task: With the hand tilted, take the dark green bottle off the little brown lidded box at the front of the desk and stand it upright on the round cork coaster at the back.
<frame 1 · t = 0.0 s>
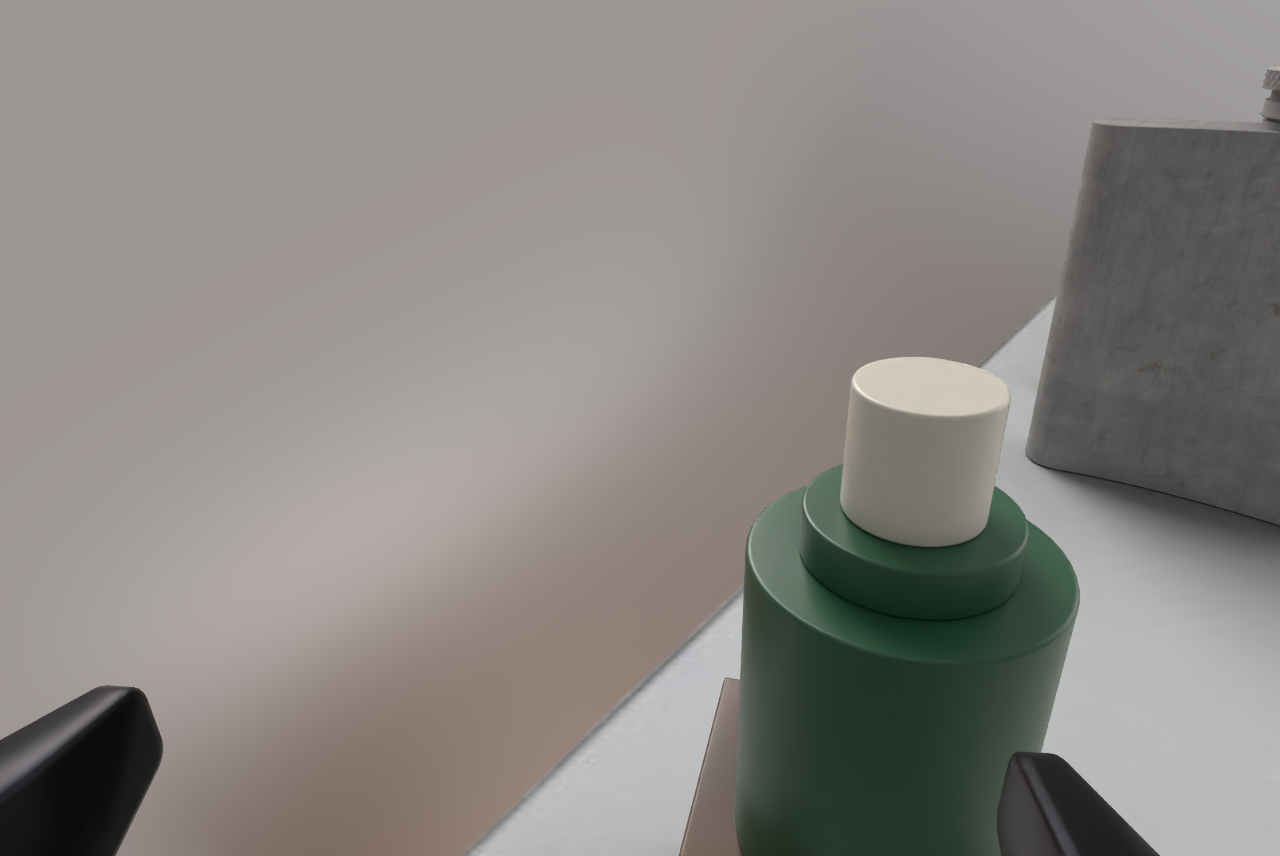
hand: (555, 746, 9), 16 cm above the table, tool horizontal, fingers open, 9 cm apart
bottle: (866, 826, 20), point 6 cm above the table, touching brown lidded box
hip flask: (1189, 490, 44), on the table
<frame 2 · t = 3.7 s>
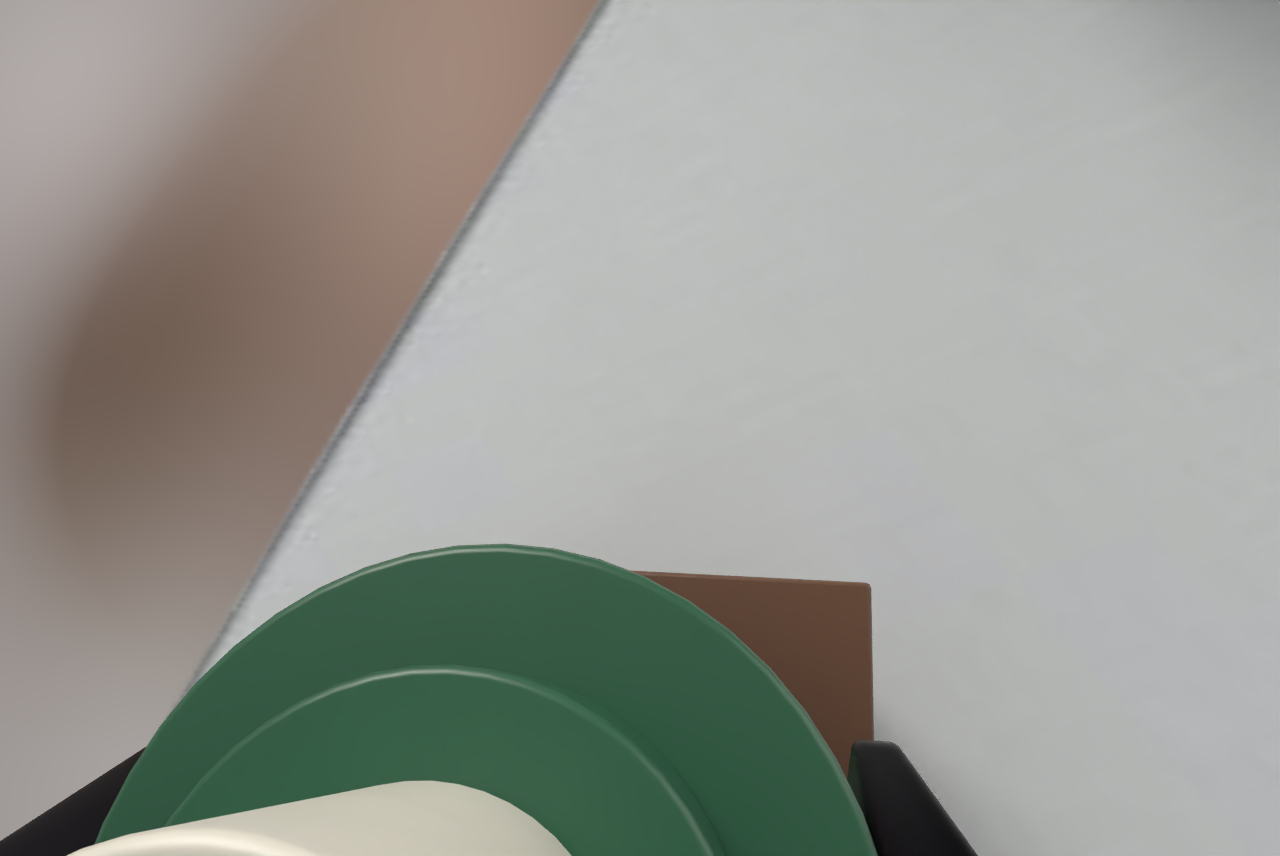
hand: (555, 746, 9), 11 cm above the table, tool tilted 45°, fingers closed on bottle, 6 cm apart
bottle: (605, 833, 13), point 6 cm above the table, touching gripper, brown lidded box
brown lidded box: (643, 797, 19), on the table
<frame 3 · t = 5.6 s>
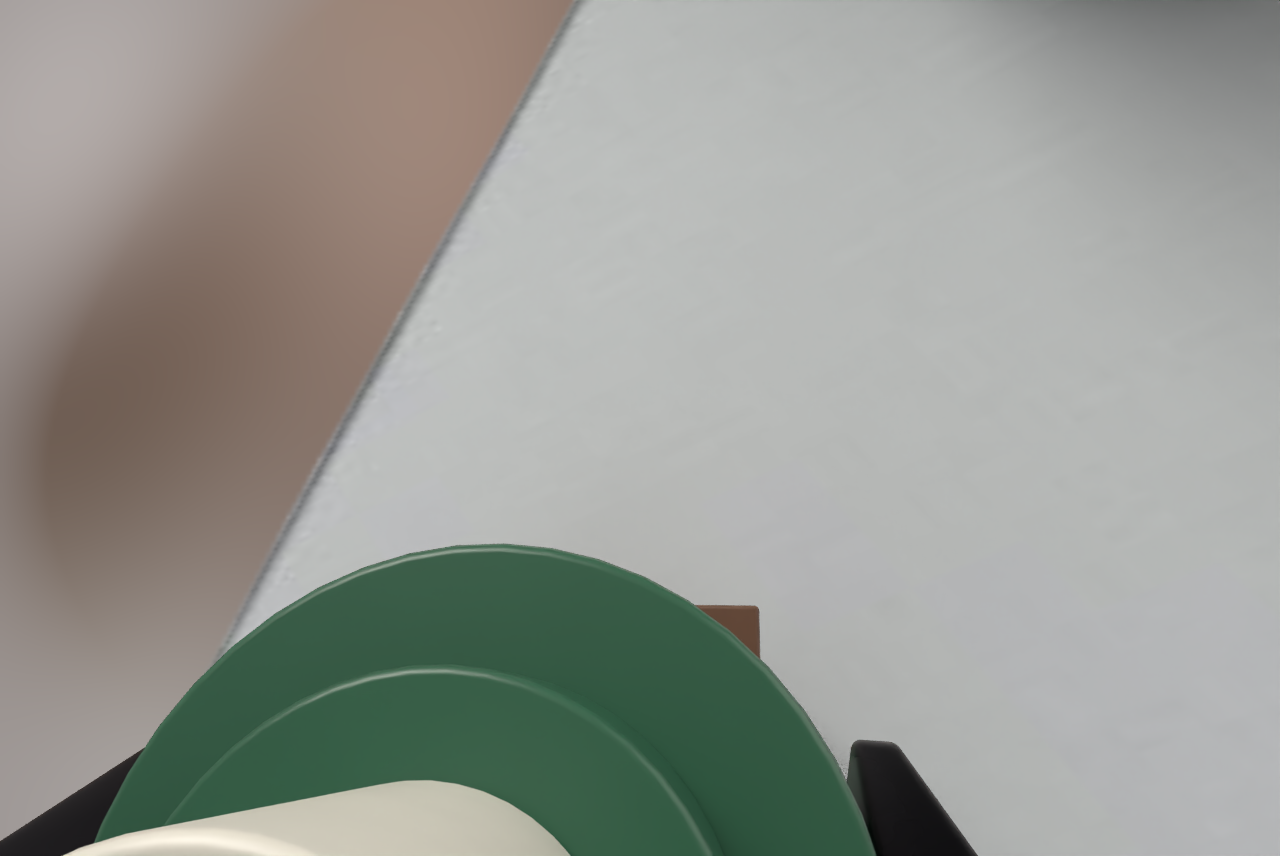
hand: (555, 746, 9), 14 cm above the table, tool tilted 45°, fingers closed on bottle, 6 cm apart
bottle: (605, 833, 13), point 9 cm above the table, touching gripper
brown lidded box: (591, 796, 21), on the table
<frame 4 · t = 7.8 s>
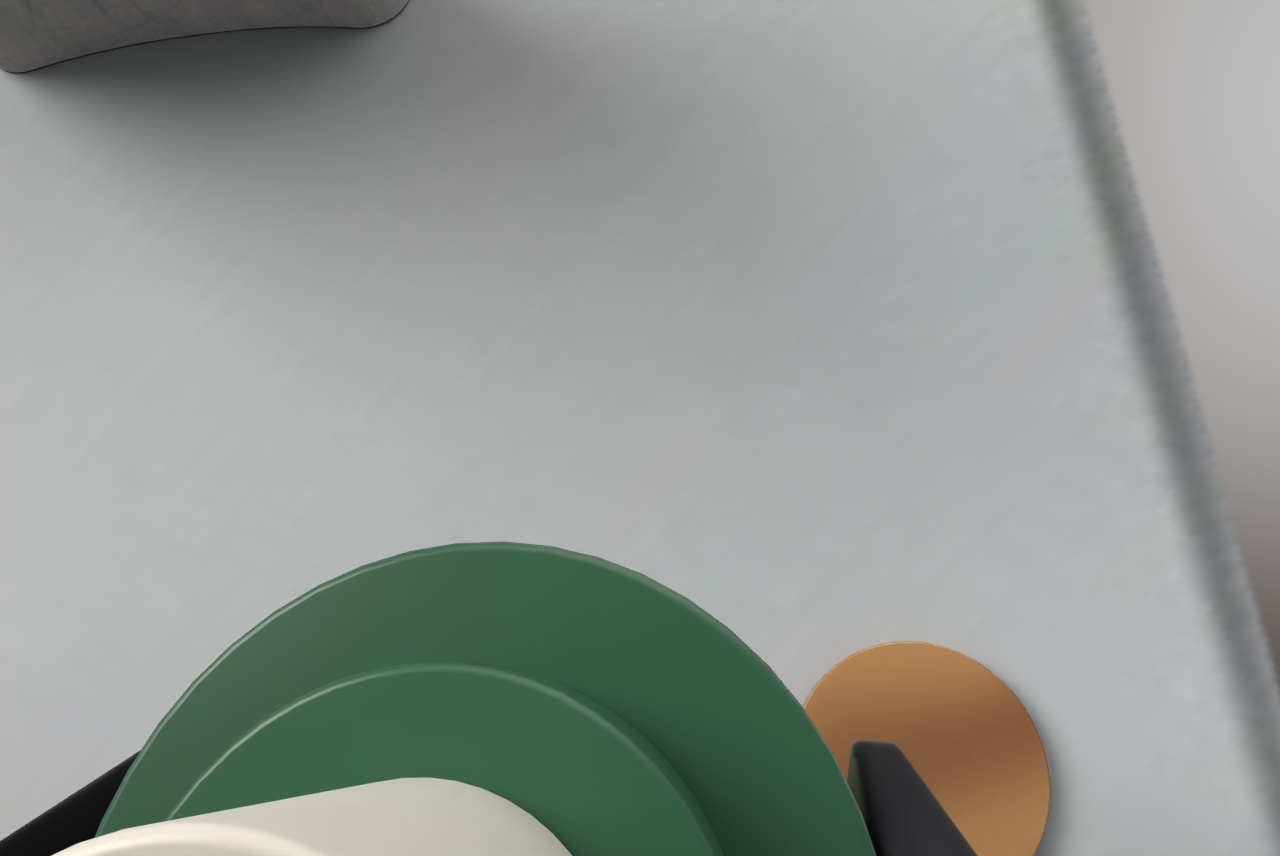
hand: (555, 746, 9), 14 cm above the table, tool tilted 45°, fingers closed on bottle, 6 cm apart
bottle: (604, 832, 13), point 9 cm above the table, touching gripper
hip flask: (201, 9, 31), on the table
coaster: (915, 769, 21), on the table
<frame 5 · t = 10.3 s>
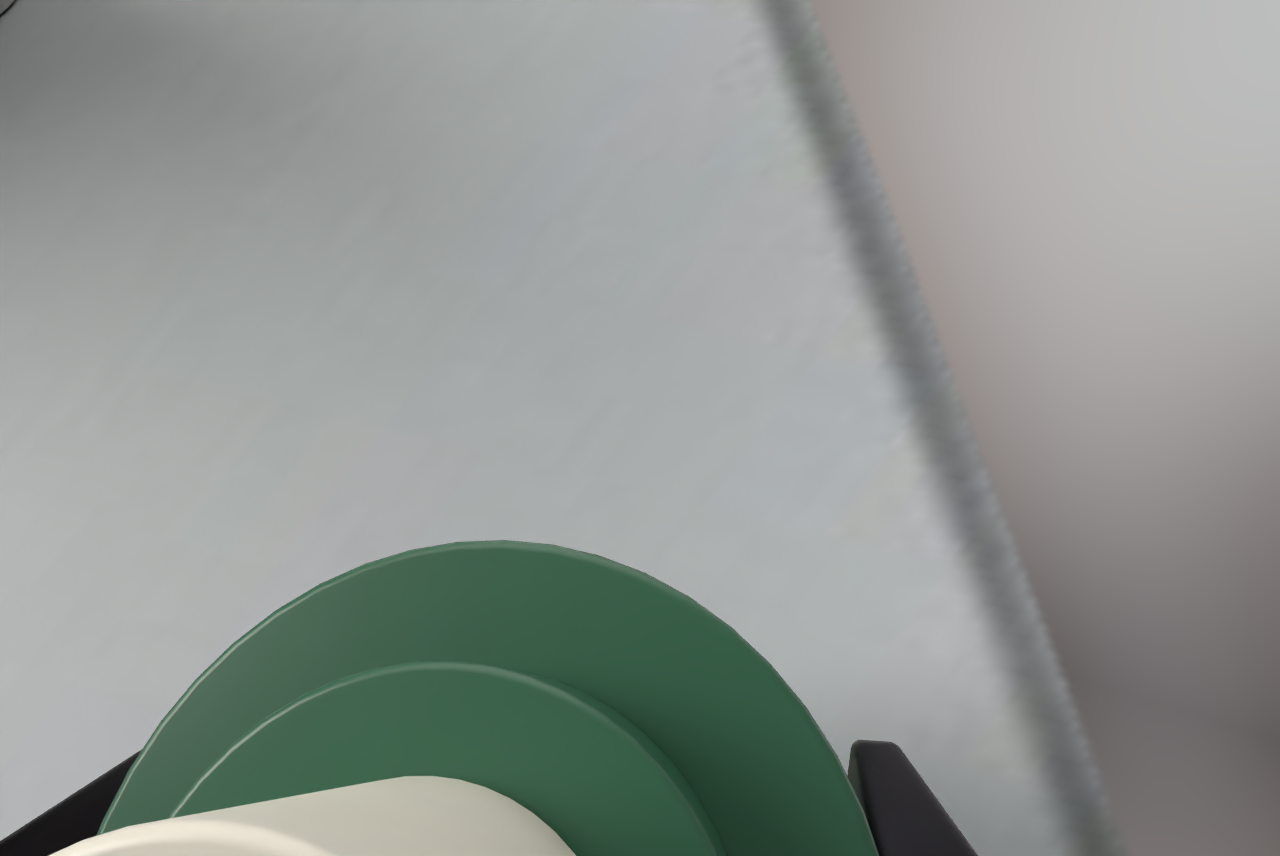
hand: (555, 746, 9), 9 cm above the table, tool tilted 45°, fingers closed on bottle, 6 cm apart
bottle: (605, 831, 13), point 4 cm above the table, touching gripper
when the fingers open (5 cm above the table, at t = 12.0 s): bottle stays where it is, resting on coaster.
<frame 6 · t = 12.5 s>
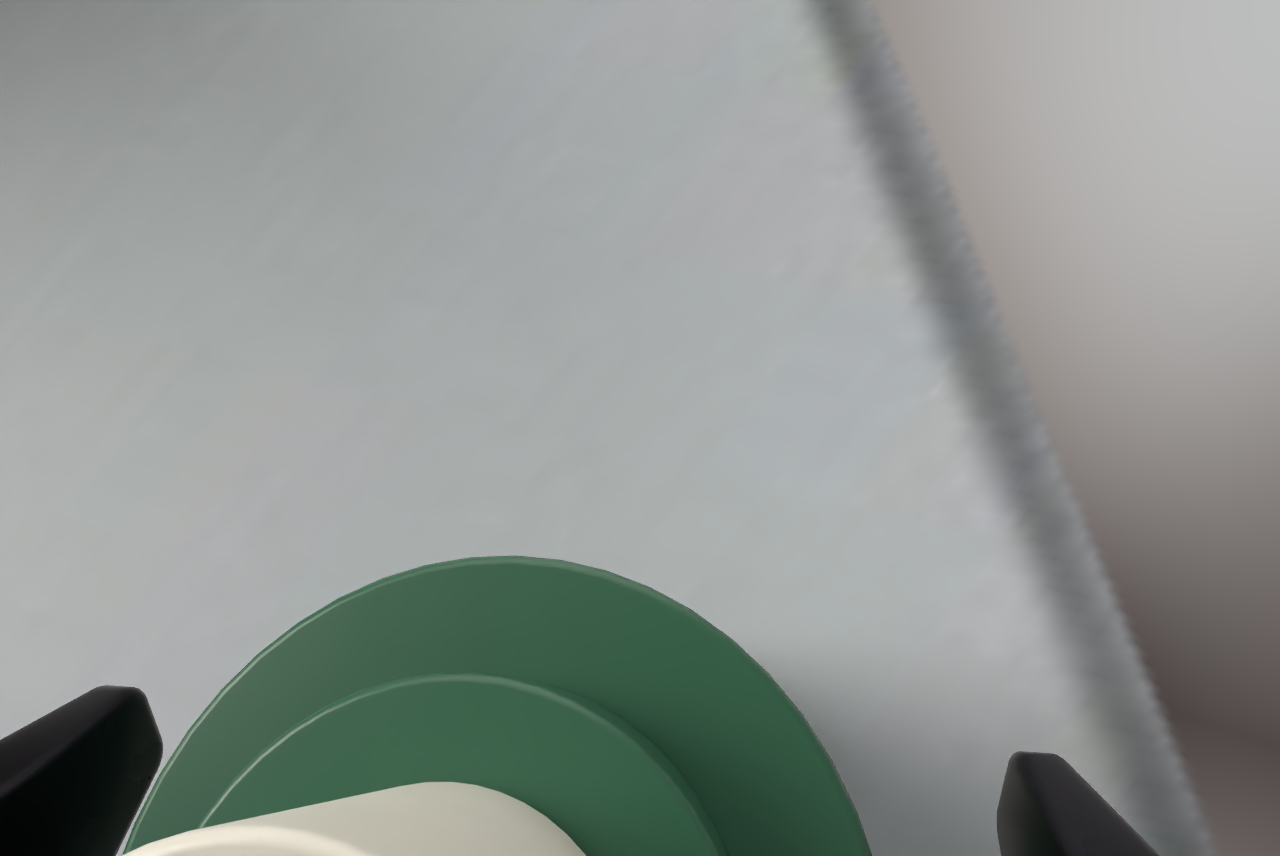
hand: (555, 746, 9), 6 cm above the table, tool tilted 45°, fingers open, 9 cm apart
bottle: (609, 832, 13), resting on coaster
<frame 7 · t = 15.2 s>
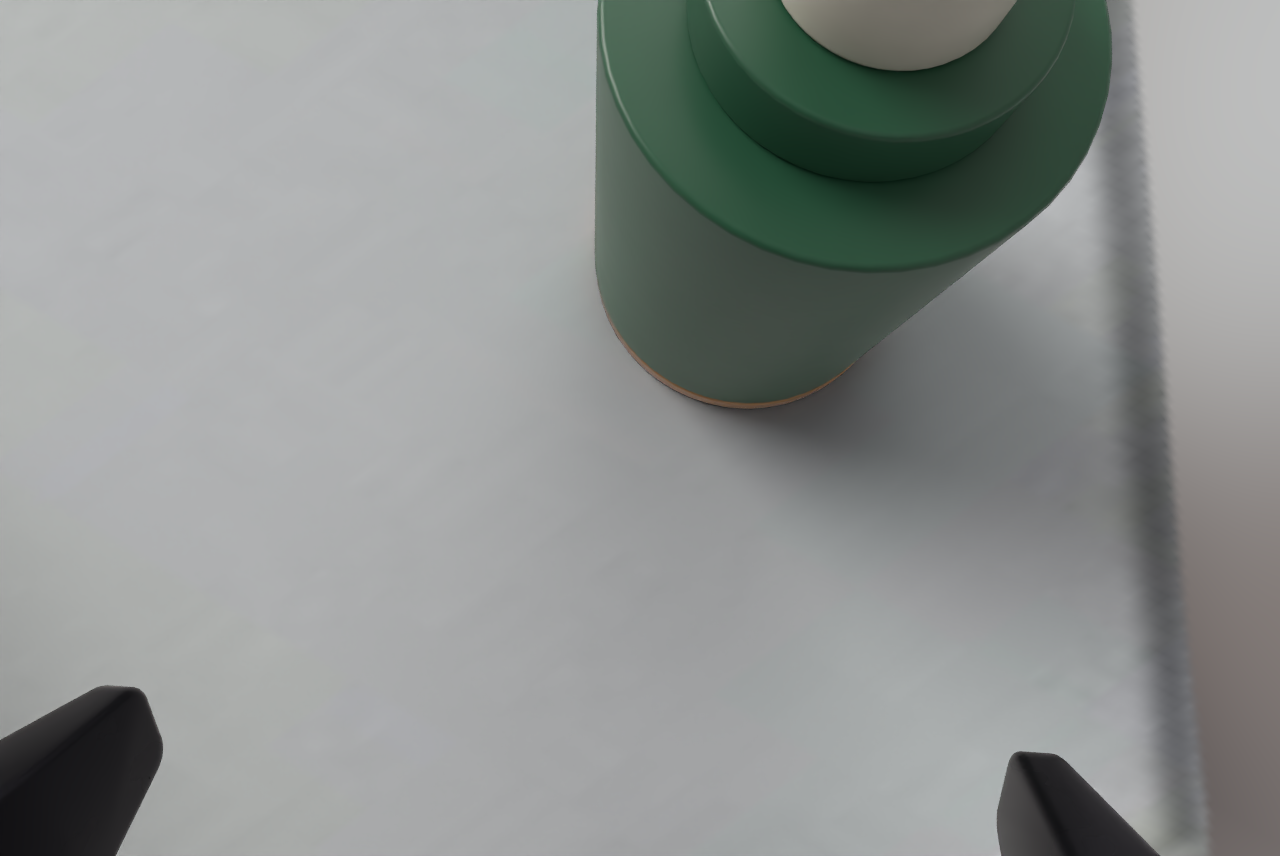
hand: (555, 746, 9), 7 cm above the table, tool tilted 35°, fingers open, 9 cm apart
bottle: (744, 257, 17), resting on coaster
coaster: (742, 265, 18), on the table
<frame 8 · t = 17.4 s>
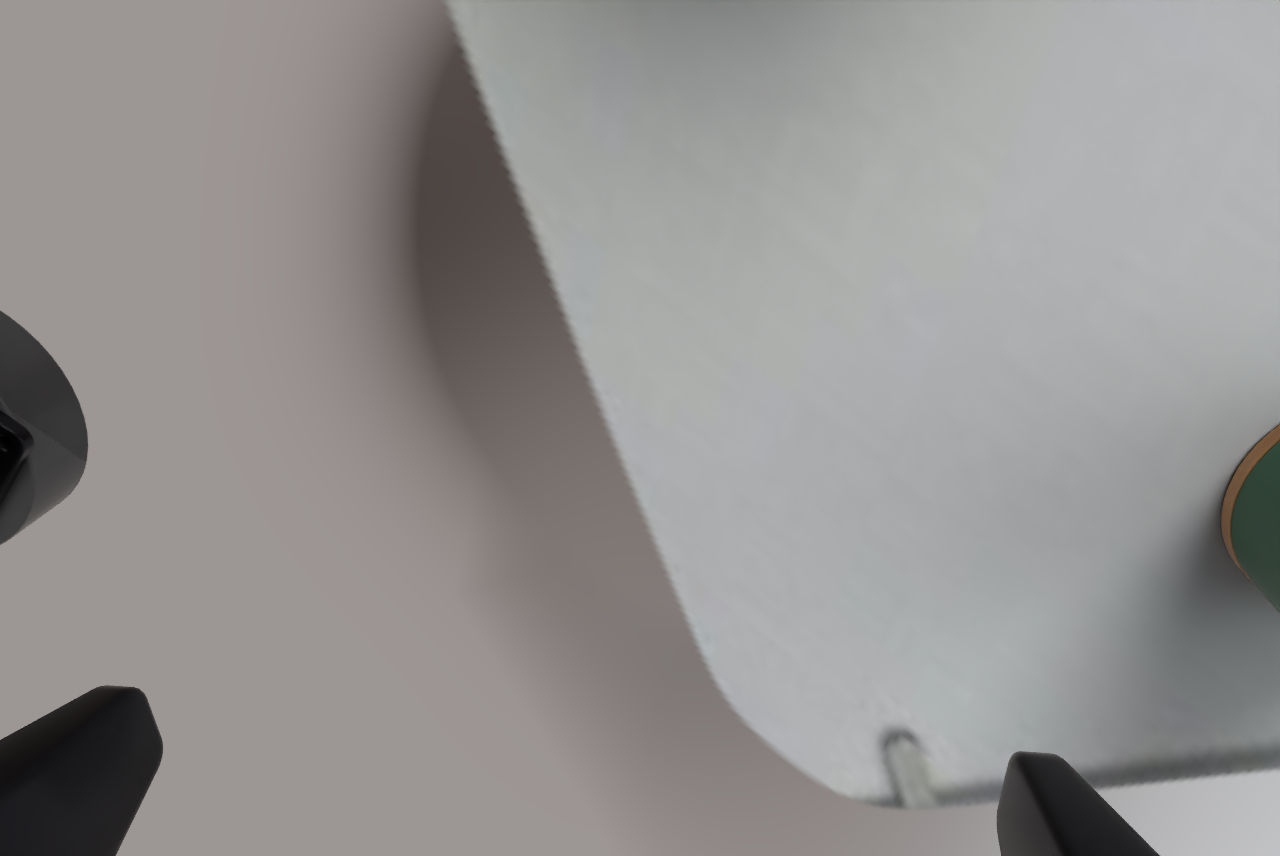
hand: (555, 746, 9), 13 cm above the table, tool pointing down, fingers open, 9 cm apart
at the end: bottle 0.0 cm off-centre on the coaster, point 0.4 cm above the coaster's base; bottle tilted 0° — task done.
